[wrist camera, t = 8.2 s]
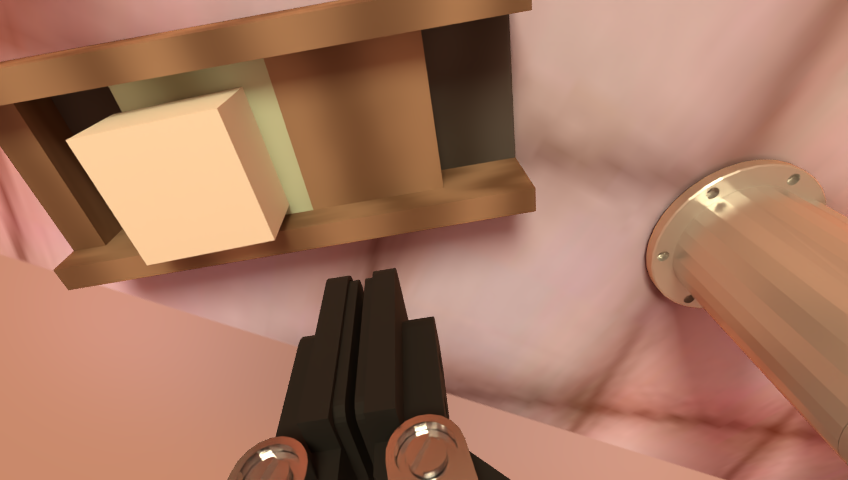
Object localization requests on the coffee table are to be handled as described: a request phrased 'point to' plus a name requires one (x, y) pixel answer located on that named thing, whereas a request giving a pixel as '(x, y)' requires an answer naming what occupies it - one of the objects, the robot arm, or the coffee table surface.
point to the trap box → (292, 122)
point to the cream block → (185, 176)
